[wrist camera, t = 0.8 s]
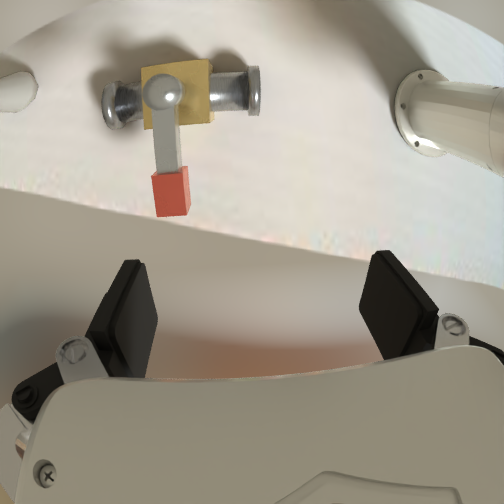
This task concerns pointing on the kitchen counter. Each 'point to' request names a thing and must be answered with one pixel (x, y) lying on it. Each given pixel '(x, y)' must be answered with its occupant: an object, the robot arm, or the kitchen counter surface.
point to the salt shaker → (17, 91)
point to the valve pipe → (196, 94)
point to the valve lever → (167, 145)
